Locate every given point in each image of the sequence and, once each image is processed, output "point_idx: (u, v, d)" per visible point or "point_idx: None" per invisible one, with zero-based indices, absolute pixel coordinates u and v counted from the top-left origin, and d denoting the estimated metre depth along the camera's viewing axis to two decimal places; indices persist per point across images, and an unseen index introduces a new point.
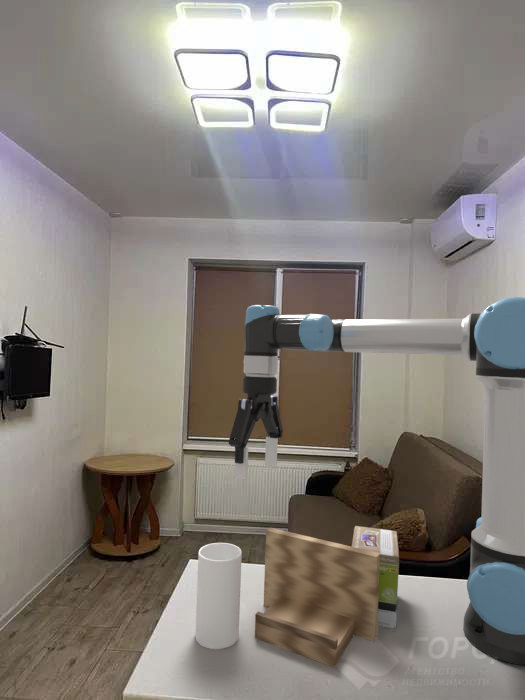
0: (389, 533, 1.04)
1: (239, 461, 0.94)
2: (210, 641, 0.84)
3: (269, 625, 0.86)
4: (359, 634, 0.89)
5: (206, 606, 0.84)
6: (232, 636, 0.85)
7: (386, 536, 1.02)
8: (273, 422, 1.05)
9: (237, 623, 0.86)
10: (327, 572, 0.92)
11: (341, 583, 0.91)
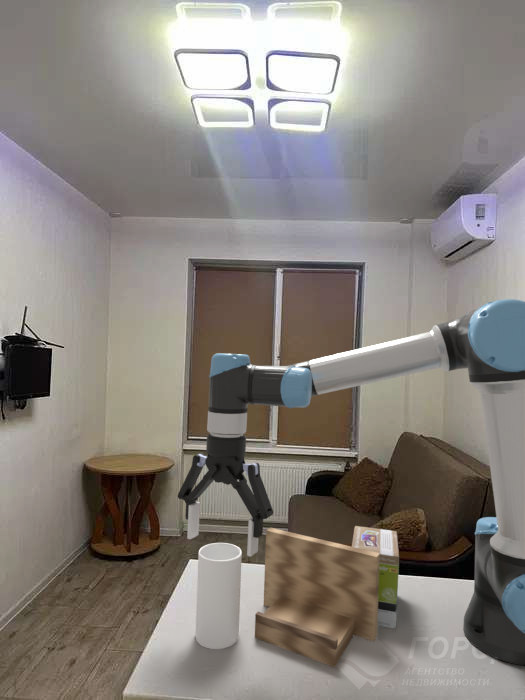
0: (389, 533, 1.04)
1: None
2: (210, 641, 0.84)
3: (269, 625, 0.86)
4: (359, 634, 0.89)
5: (206, 606, 0.84)
6: (232, 636, 0.85)
7: (386, 536, 1.02)
8: (243, 496, 0.85)
9: (237, 623, 0.86)
10: (327, 572, 0.92)
11: (341, 583, 0.91)
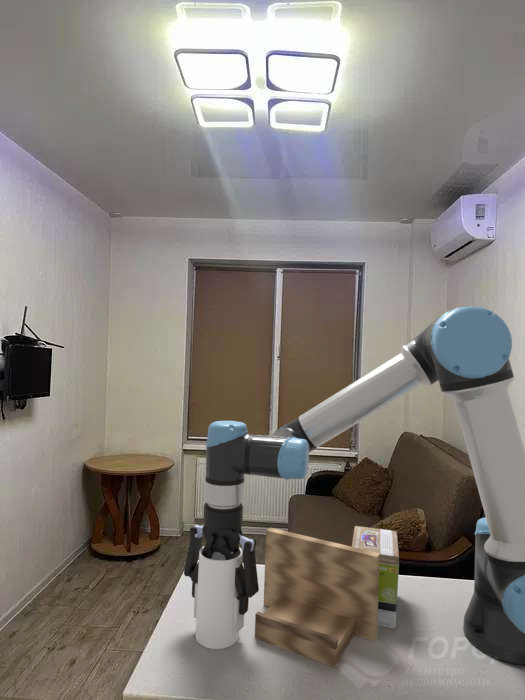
0: (389, 533, 1.04)
1: None
2: (210, 641, 0.84)
3: (269, 625, 0.86)
4: (359, 634, 0.89)
5: (206, 606, 0.84)
6: (232, 636, 0.85)
7: (386, 536, 1.02)
8: None
9: None
10: (327, 572, 0.92)
11: (341, 583, 0.91)
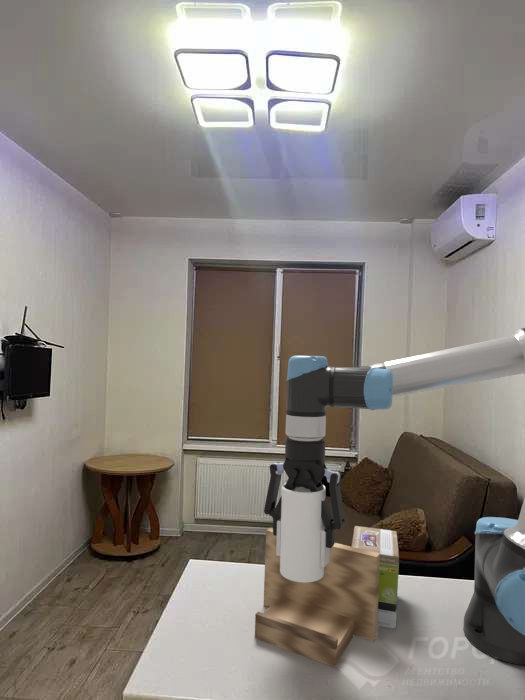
0: (389, 533, 1.04)
1: None
2: (299, 574, 0.82)
3: (269, 625, 0.86)
4: (359, 634, 0.89)
5: (294, 539, 0.83)
6: (319, 570, 0.83)
7: (386, 536, 1.02)
8: None
9: None
10: (327, 572, 0.92)
11: (341, 583, 0.91)
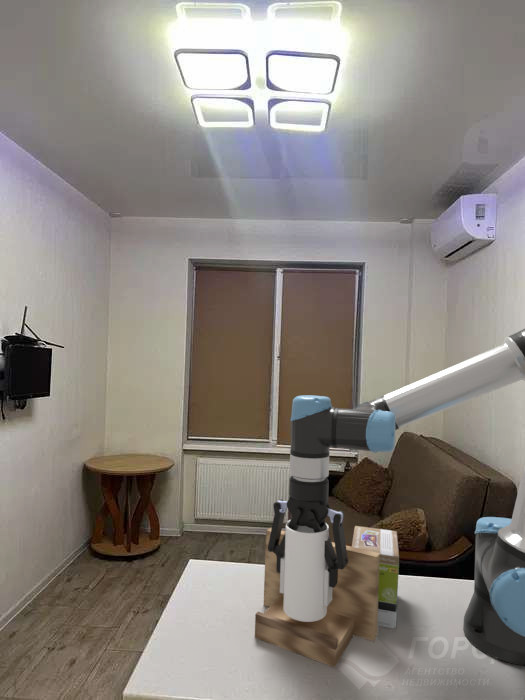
0: (389, 533, 1.04)
1: None
2: (302, 614, 0.83)
3: (269, 625, 0.86)
4: (359, 634, 0.89)
5: (297, 579, 0.84)
6: (323, 609, 0.85)
7: (386, 536, 1.02)
8: None
9: None
10: None
11: (341, 583, 0.91)
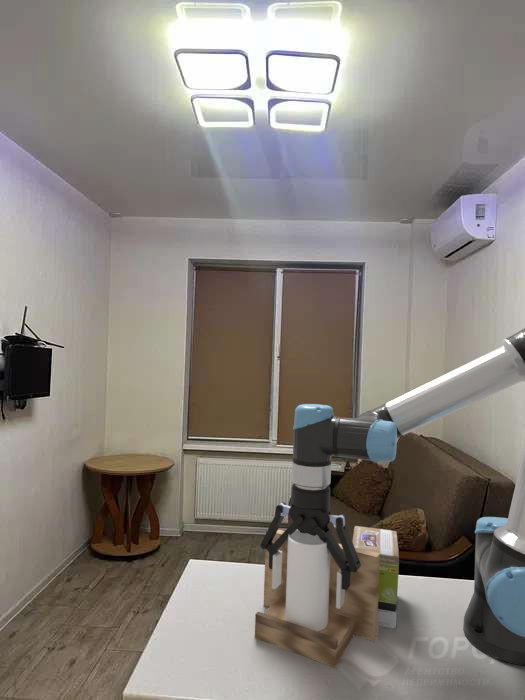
0: (389, 533, 1.04)
1: None
2: (304, 624, 0.85)
3: (269, 625, 0.86)
4: (359, 634, 0.89)
5: (299, 590, 0.85)
6: (324, 620, 0.86)
7: (386, 536, 1.02)
8: (331, 548, 0.86)
9: (328, 607, 0.87)
10: None
11: None
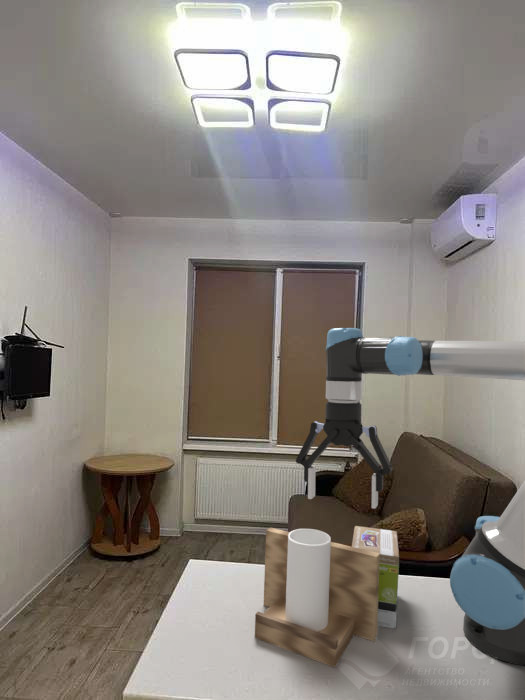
0: (389, 533, 1.04)
1: None
2: (304, 624, 0.85)
3: (269, 625, 0.86)
4: (359, 634, 0.89)
5: (299, 590, 0.85)
6: (324, 620, 0.86)
7: (386, 536, 1.02)
8: (365, 455, 0.94)
9: (328, 607, 0.87)
10: None
11: (341, 583, 0.91)
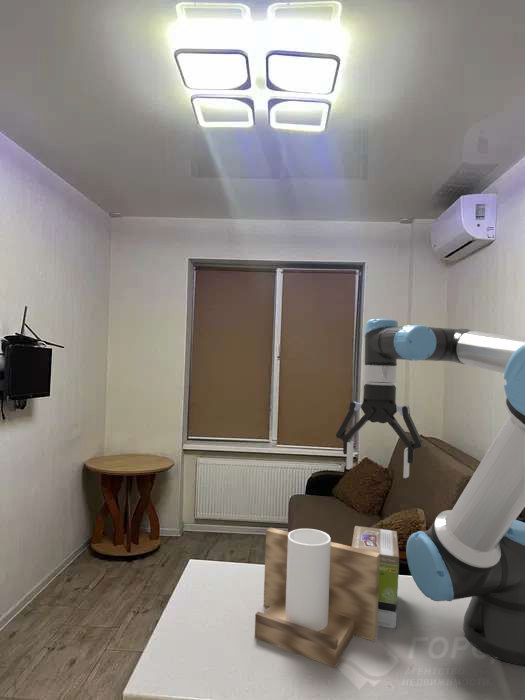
0: (389, 533, 1.04)
1: None
2: (304, 624, 0.85)
3: (269, 625, 0.86)
4: (359, 634, 0.89)
5: (299, 590, 0.85)
6: (324, 620, 0.86)
7: (386, 536, 1.02)
8: (398, 431, 1.07)
9: (327, 607, 0.87)
10: None
11: (341, 583, 0.91)
